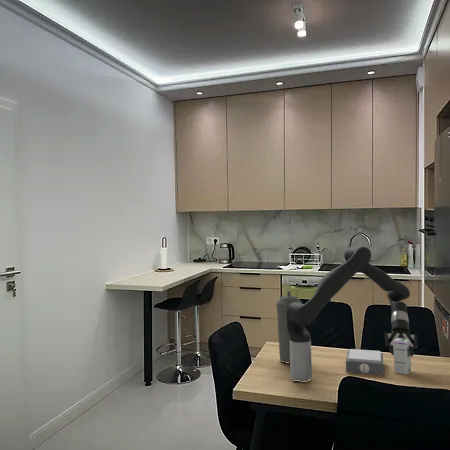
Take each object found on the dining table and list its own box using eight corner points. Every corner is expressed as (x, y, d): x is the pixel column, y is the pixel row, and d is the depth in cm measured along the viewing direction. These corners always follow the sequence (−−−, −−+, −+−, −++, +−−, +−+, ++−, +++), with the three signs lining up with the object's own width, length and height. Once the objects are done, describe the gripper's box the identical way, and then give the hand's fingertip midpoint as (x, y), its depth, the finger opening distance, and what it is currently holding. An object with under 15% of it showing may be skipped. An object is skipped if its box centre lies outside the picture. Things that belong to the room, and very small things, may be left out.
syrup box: (407, 374, 185) (406, 342, 185) (393, 372, 189) (392, 340, 189) (411, 371, 190) (410, 339, 190) (397, 368, 194) (396, 337, 193)
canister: (273, 359, 212) (271, 290, 212) (294, 355, 217) (292, 287, 217) (287, 367, 200) (284, 293, 200) (309, 362, 206) (306, 291, 205)
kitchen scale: (383, 376, 185) (383, 362, 185) (345, 372, 190) (345, 359, 190) (383, 363, 201) (382, 350, 201) (348, 360, 206) (348, 348, 206)
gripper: (383, 317, 199) (384, 349, 188) (417, 319, 194) (420, 352, 183) (383, 326, 204) (385, 357, 193) (416, 327, 199) (419, 360, 188)
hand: (402, 355), depth 188 cm, fingers closed on syrup box, 7 cm apart
